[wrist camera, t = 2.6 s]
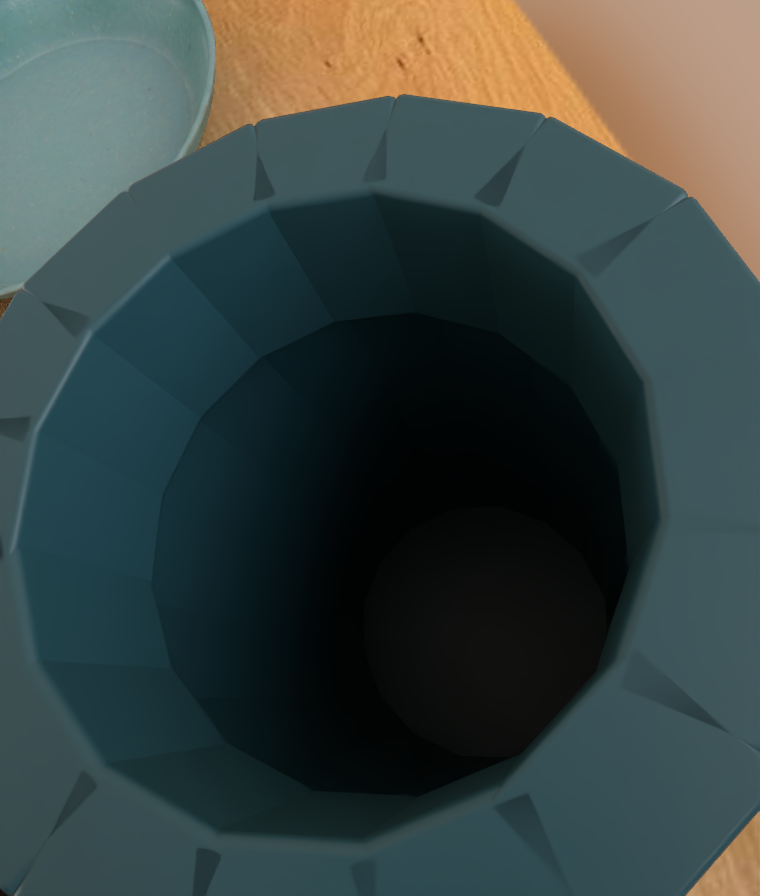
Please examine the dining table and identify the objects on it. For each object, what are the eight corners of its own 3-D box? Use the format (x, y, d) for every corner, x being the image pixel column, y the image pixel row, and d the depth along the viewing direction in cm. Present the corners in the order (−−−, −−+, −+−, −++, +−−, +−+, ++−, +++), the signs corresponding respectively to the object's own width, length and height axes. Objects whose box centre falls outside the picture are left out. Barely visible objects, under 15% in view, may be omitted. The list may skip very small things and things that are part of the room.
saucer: (-119, 389, 24) (-194, 355, 22) (-88, 88, 30) (-146, 34, 27) (271, 266, 22) (235, 213, 19) (226, -35, 27) (194, -106, 25)
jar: (643, 783, 15) (983, 1140, 3) (350, 771, 16) (-200, 978, 4) (613, 489, 17) (738, 24, 5) (356, 503, 19) (-1, 165, 7)
